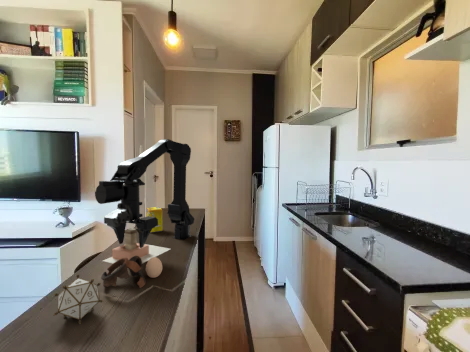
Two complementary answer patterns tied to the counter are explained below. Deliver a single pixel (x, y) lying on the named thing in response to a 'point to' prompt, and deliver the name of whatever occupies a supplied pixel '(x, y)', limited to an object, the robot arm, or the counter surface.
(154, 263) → the egg
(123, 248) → the pink square ring
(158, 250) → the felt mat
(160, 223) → the supplement box
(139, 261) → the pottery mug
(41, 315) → the counter surface
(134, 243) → the dowel
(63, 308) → the game die
